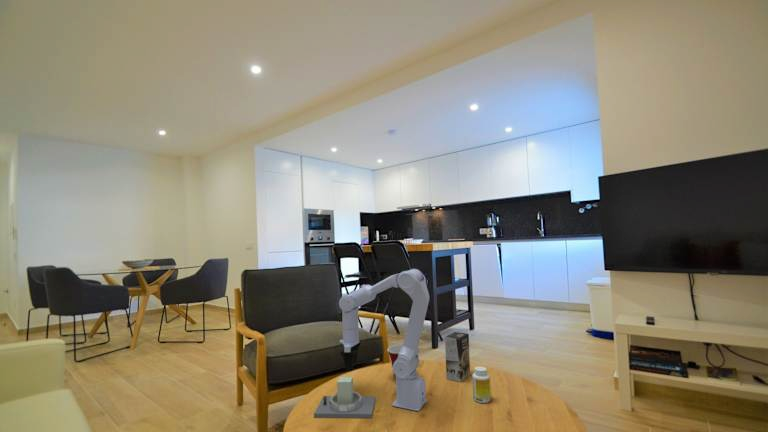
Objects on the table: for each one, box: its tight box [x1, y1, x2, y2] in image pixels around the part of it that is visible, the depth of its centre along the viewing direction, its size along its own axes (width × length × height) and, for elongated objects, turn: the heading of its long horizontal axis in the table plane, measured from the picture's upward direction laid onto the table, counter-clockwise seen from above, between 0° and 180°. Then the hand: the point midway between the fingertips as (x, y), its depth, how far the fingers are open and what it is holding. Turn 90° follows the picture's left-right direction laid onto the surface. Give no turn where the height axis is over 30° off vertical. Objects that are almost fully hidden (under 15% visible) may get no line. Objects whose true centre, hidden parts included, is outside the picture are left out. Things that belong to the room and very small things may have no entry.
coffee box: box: [444, 331, 471, 383], centre depth 136 cm, size 9×6×16 cm
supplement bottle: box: [471, 366, 491, 404], centre depth 117 cm, size 6×6×10 cm
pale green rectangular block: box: [336, 376, 354, 405], centre depth 113 cm, size 4×5×8 cm
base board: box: [313, 395, 377, 419], centre depth 113 cm, size 18×12×1 cm, turn 86°
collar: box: [322, 391, 363, 412], centre depth 113 cm, size 13×10×2 cm
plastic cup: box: [386, 343, 403, 380], centre depth 136 cm, size 11×11×12 cm
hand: (351, 366), depth 124 cm, fingers open, 7 cm apart
